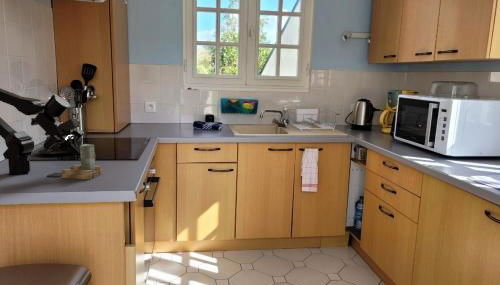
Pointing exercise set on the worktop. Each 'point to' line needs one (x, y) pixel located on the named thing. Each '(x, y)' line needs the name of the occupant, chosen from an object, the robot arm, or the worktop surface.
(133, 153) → the worktop surface
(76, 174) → the tunnel
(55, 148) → the casserole
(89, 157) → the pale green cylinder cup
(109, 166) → the worktop surface
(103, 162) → the worktop surface
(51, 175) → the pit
